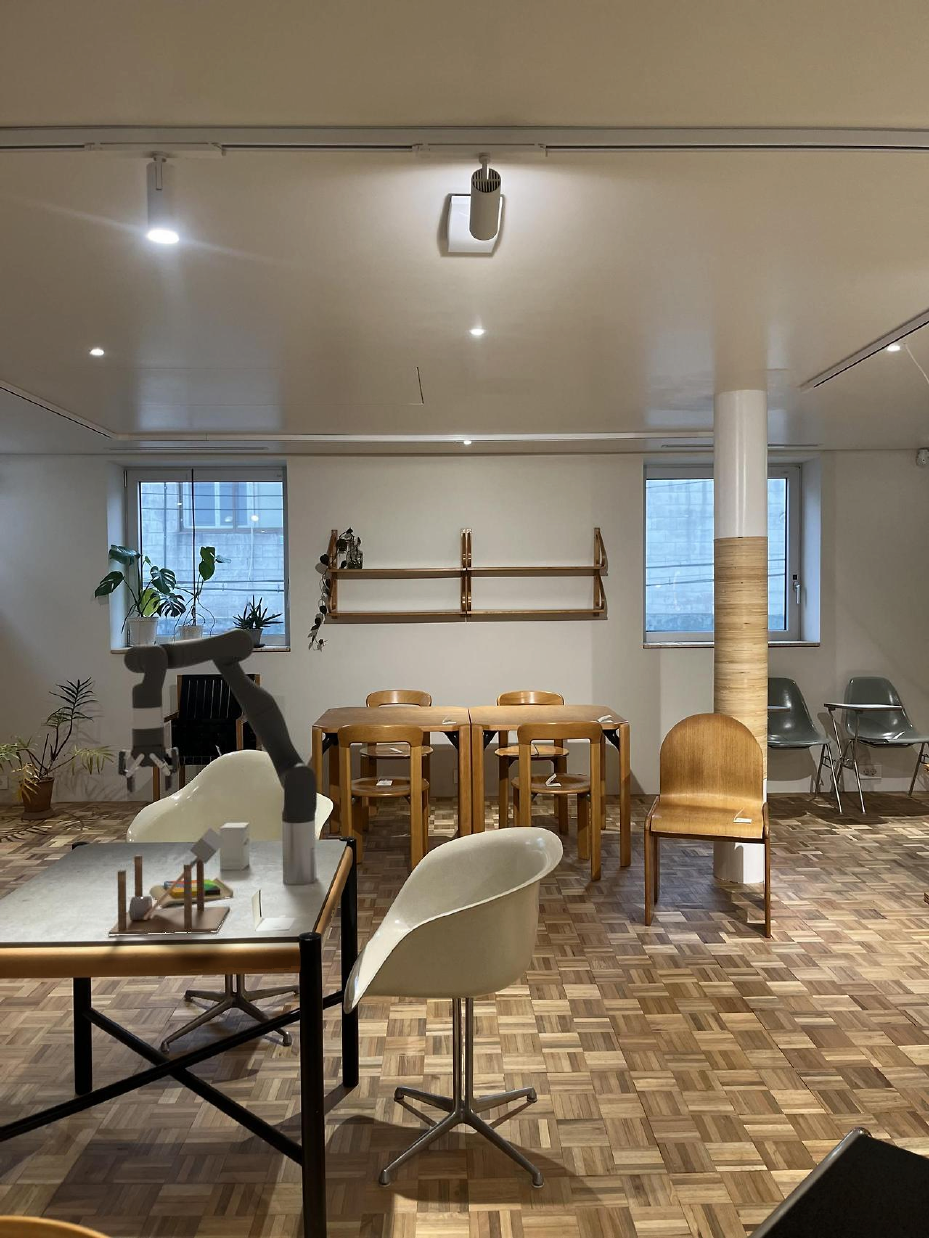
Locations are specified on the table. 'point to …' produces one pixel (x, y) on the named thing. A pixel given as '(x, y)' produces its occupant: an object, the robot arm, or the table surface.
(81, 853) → the table surface
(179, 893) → the wooden puzzle
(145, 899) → the stubby grey cylinder
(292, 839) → the robot arm
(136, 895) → the trapdoor stand
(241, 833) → the supplement box
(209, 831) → the trapdoor
